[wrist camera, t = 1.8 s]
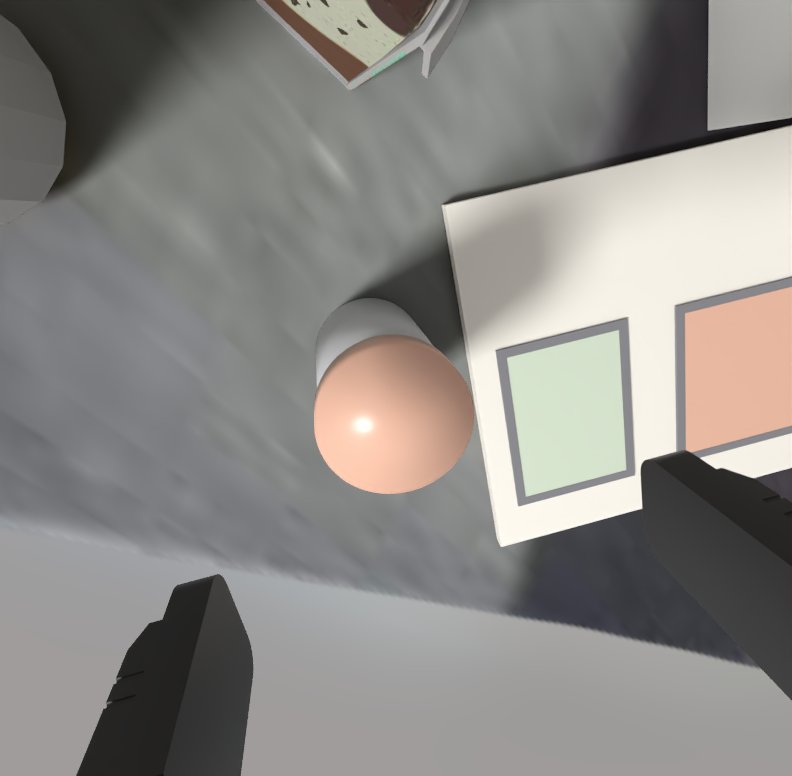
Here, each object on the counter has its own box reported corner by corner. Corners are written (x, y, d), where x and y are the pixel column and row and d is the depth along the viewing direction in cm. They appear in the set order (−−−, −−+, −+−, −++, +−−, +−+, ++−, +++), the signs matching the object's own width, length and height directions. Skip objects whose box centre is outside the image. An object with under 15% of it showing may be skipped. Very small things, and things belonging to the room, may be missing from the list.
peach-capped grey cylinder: (300, 310, 21) (295, 368, 14) (412, 283, 22) (460, 327, 15) (328, 413, 23) (336, 510, 16) (432, 387, 23) (484, 471, 16)
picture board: (441, 205, 21) (446, 205, 20) (890, 102, 22) (908, 99, 21) (497, 539, 26) (502, 548, 26) (848, 443, 28) (861, 450, 27)
